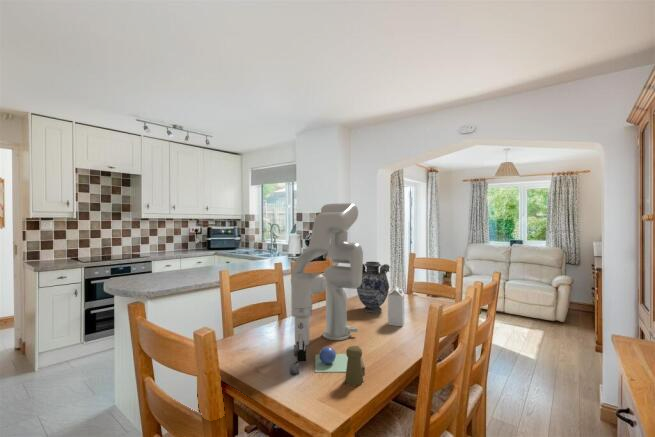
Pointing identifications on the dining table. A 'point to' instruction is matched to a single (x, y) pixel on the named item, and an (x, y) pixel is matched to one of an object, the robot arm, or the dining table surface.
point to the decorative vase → (373, 286)
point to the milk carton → (396, 307)
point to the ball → (327, 355)
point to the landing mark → (332, 364)
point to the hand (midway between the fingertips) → (301, 360)
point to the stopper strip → (362, 366)
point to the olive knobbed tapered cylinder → (354, 366)
